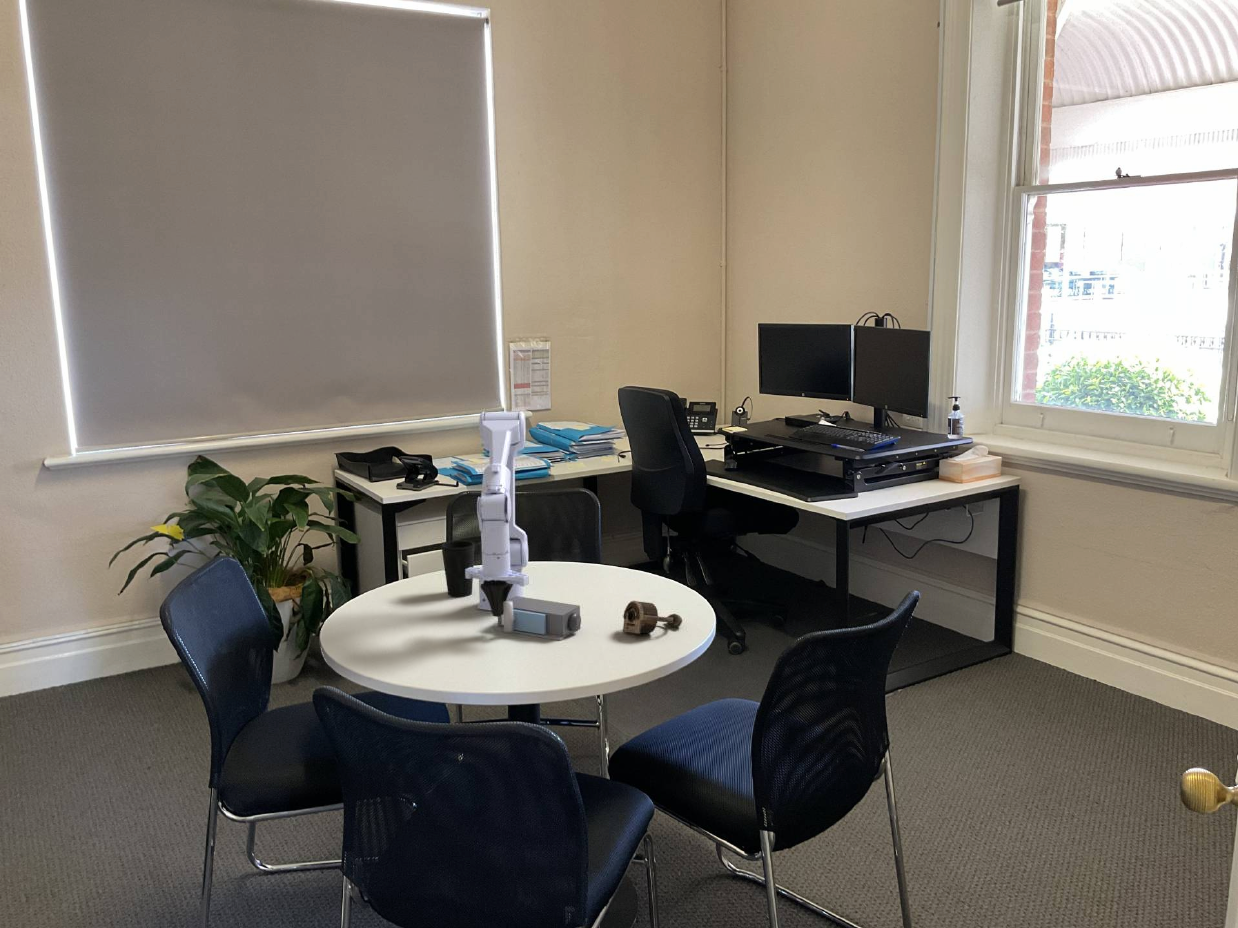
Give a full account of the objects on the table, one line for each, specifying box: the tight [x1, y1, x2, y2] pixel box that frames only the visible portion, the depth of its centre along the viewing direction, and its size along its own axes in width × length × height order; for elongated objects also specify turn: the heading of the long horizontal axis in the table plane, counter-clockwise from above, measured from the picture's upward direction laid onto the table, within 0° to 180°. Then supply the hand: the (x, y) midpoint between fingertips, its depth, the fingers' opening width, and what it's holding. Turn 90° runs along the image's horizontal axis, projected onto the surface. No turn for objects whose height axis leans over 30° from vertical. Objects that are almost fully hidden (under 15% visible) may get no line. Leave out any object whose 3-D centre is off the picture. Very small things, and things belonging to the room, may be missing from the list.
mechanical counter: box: [622, 600, 683, 635], centre depth 205 cm, size 7×13×10 cm
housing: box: [494, 596, 582, 641], centre depth 207 cm, size 17×8×5 cm, turn 63°
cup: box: [440, 539, 475, 598], centre depth 232 cm, size 8×8×12 cm
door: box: [503, 601, 546, 635], centre depth 203 cm, size 9×3×6 cm, turn 63°
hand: (498, 615), depth 205 cm, fingers closed
